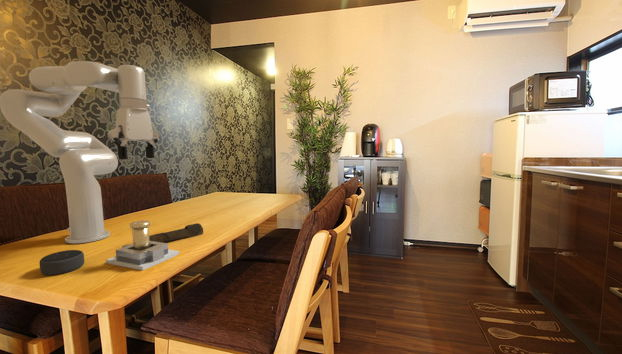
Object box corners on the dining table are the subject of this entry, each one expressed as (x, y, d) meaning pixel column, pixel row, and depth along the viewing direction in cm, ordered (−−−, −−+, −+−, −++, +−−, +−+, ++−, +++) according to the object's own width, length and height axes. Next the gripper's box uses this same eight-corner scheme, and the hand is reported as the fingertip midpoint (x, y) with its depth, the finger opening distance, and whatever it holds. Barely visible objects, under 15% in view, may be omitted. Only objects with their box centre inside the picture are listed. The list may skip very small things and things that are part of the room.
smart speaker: (70, 261, 82) (68, 247, 81) (92, 264, 79) (91, 250, 79) (31, 274, 73) (30, 259, 73) (56, 278, 71) (54, 263, 70)
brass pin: (128, 259, 80) (125, 223, 79) (143, 253, 84) (141, 219, 83) (140, 261, 78) (138, 225, 77) (156, 255, 82) (153, 221, 81)
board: (106, 263, 79) (106, 259, 79) (145, 248, 91) (144, 245, 91) (142, 270, 74) (142, 266, 74) (179, 254, 86) (178, 251, 85)
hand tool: (148, 249, 91) (147, 234, 91) (144, 245, 94) (144, 232, 94) (206, 236, 104) (205, 223, 104) (201, 233, 107) (201, 221, 107)
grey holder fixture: (107, 259, 80) (107, 248, 80) (137, 248, 88) (136, 238, 88) (144, 265, 75) (143, 254, 75) (172, 254, 83) (171, 243, 83)
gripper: (148, 109, 103) (151, 157, 104) (98, 102, 86) (102, 159, 88) (164, 108, 100) (167, 157, 102) (115, 101, 84) (119, 159, 86)
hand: (137, 158), depth 95 cm, fingers open, 9 cm apart
